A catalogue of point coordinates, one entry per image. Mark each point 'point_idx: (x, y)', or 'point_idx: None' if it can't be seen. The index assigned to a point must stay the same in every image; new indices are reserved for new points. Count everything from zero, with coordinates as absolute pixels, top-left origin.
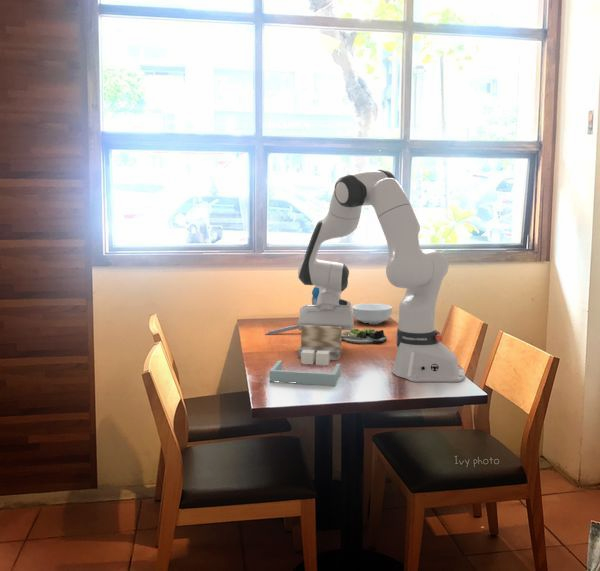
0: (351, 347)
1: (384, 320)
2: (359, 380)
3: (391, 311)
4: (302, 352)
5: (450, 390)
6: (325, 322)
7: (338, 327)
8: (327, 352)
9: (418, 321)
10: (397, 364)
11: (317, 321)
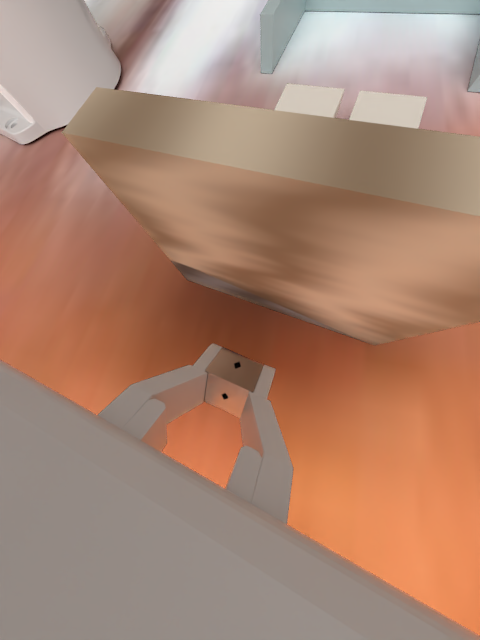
0: (99, 388)
1: None
2: (223, 40)
3: None
4: (418, 99)
5: None
6: (145, 491)
7: (108, 103)
8: (283, 102)
9: None
10: (91, 26)
11: (313, 630)
